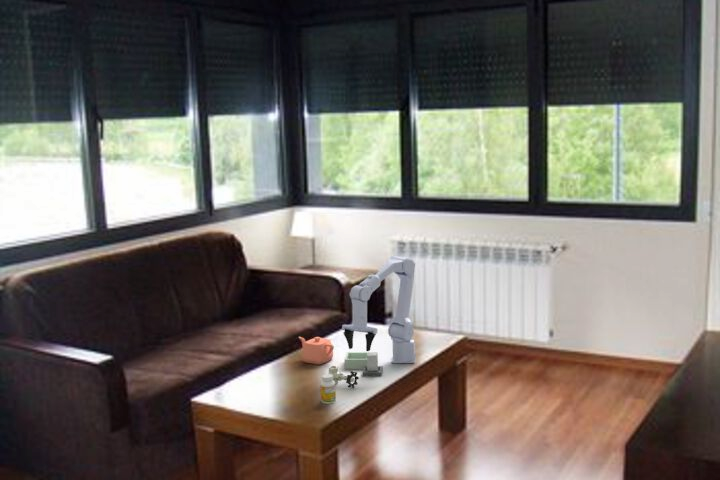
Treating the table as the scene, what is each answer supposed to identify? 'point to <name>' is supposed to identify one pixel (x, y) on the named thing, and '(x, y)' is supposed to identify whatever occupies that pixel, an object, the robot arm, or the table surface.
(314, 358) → the teapot
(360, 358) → the bin
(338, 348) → the table surface
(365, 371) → the socket
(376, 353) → the strut
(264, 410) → the table surface
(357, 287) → the robot arm
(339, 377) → the valve
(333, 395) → the supplement bottle
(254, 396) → the table surface
